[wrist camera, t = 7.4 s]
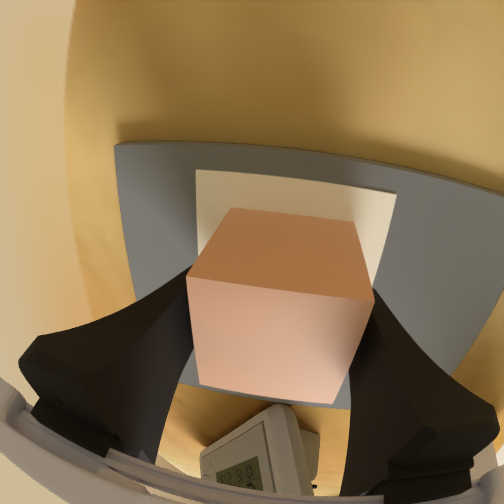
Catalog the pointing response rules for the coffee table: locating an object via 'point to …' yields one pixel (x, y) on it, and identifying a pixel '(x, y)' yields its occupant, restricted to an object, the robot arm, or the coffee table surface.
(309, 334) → the block
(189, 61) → the coffee table surface
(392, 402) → the robot arm
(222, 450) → the digital clock
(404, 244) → the mat
